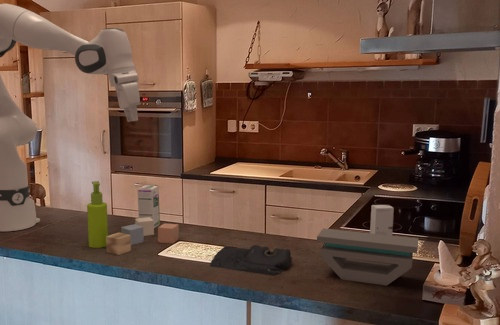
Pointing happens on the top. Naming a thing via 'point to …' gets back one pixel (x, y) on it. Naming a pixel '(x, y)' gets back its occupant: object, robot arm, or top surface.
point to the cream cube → (146, 225)
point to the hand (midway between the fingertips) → (132, 121)
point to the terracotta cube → (168, 233)
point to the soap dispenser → (97, 219)
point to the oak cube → (118, 243)
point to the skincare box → (381, 219)
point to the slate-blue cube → (134, 233)
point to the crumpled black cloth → (253, 259)
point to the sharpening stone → (367, 255)
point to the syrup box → (149, 203)
